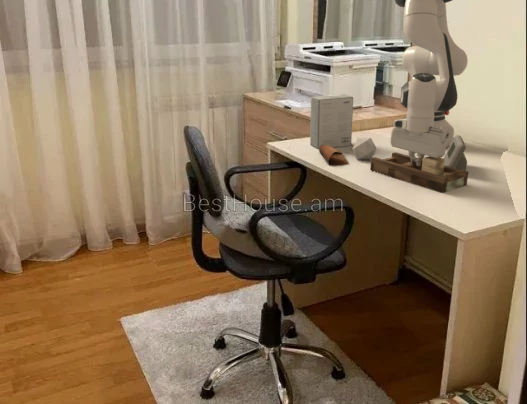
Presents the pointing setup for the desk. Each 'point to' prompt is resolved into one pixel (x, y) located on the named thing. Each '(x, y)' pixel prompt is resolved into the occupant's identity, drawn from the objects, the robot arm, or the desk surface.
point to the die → (364, 148)
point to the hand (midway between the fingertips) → (415, 165)
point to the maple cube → (433, 165)
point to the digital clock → (456, 154)
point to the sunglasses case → (333, 155)
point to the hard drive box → (331, 120)
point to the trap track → (419, 173)
